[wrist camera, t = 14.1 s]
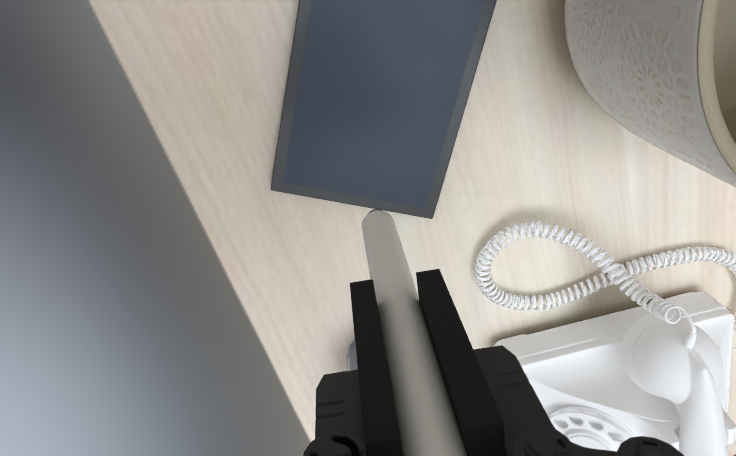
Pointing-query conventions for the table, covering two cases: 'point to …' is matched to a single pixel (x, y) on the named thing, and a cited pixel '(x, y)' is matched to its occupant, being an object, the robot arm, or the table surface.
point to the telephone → (628, 355)
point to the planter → (663, 73)
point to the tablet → (377, 99)
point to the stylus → (409, 347)
